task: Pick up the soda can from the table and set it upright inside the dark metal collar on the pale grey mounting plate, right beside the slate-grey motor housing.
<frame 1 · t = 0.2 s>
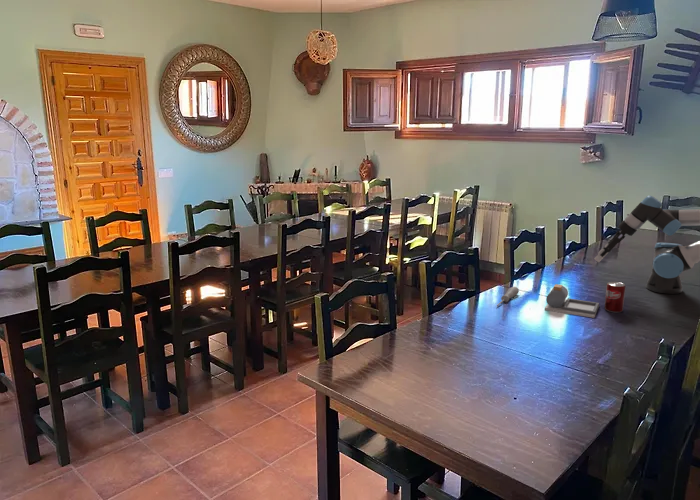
hand: (598, 257, 252), 16 cm above the table, tool tilted 35°, fingers open, 13 cm apart
screwdriver: (506, 301, 242), on the table
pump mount: (571, 308, 230), on the table
soda can: (613, 310, 227), on the table
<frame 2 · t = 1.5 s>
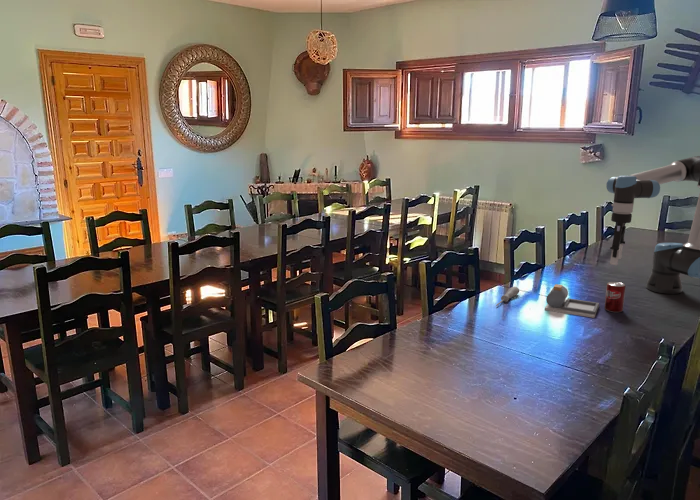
hand: (615, 261, 223), 22 cm above the table, tool pointing down, fingers open, 13 cm apart
nothing on the table moved.
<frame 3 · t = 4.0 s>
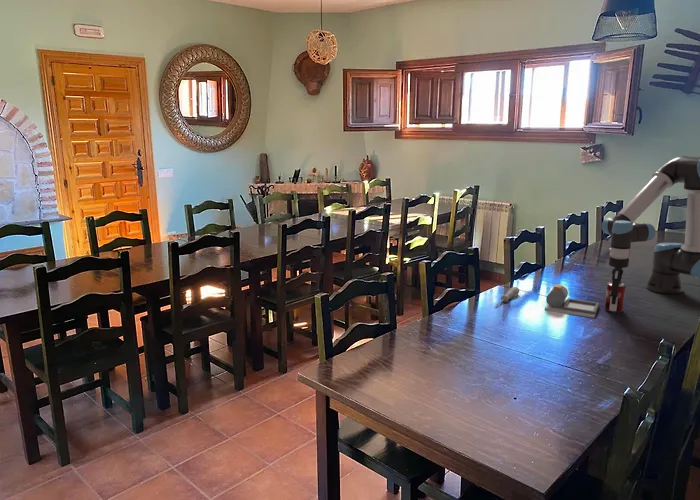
hand: (613, 307, 226), 1 cm above the table, tool pointing down, fingers closed on soda can, 7 cm apart
soda can: (613, 310, 226), on the table, touching gripper
everything else where it was.
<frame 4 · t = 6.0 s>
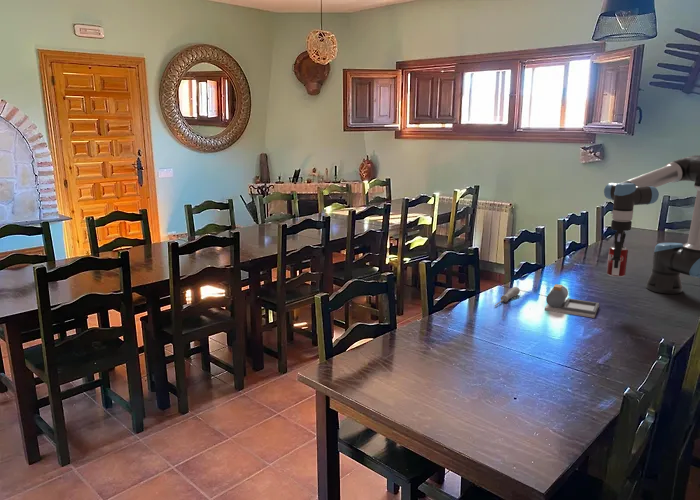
hand: (616, 272, 222), 17 cm above the table, tool pointing down, fingers closed on soda can, 7 cm apart
soda can: (615, 275, 223), point 16 cm above the table, touching gripper
everything else where it was.
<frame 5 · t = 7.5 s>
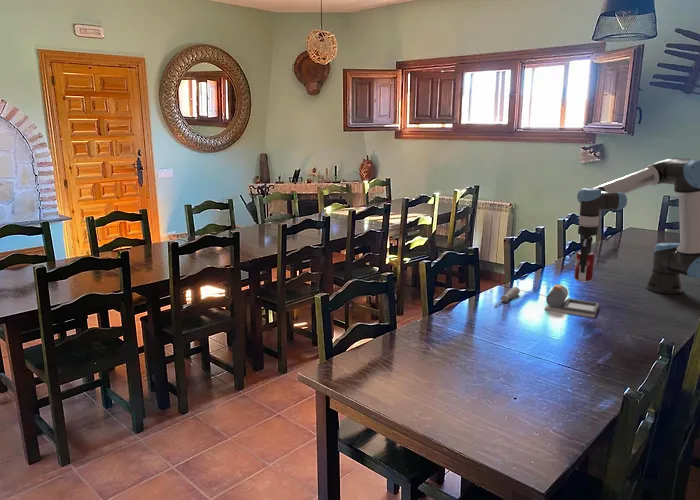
hand: (583, 277, 224), 15 cm above the table, tool pointing down, fingers closed on soda can, 7 cm apart
soda can: (583, 280, 225), point 14 cm above the table, touching gripper
everything else where it was.
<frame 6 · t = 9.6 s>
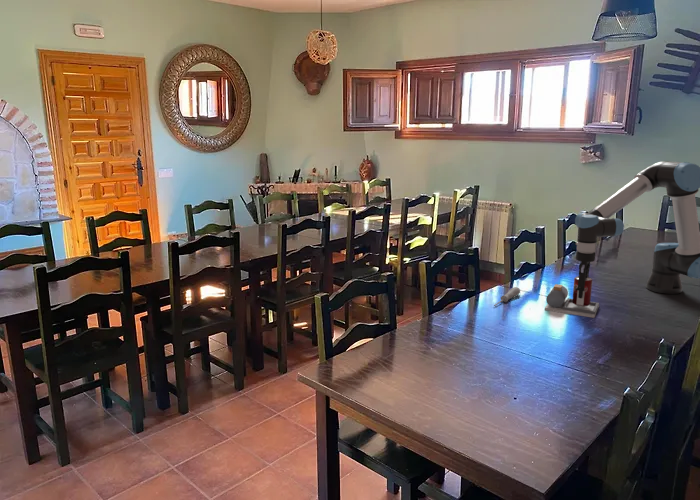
hand: (581, 301, 227), 4 cm above the table, tool pointing down, fingers closed on soda can, 7 cm apart
soda can: (581, 304, 227), point 2 cm above the table, touching gripper
everything else where it was.
when the fingers open (4 cm above the table, at t = 10.2 s): soda can drops 1 cm, resting on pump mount.
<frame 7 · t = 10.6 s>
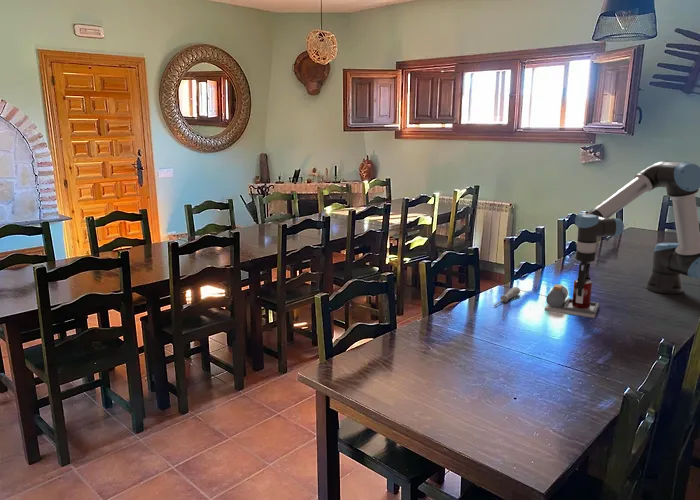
hand: (581, 298, 227), 5 cm above the table, tool pointing down, fingers open, 13 cm apart
soda can: (580, 307, 228), point 1 cm above the table, touching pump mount
everything else where it was.
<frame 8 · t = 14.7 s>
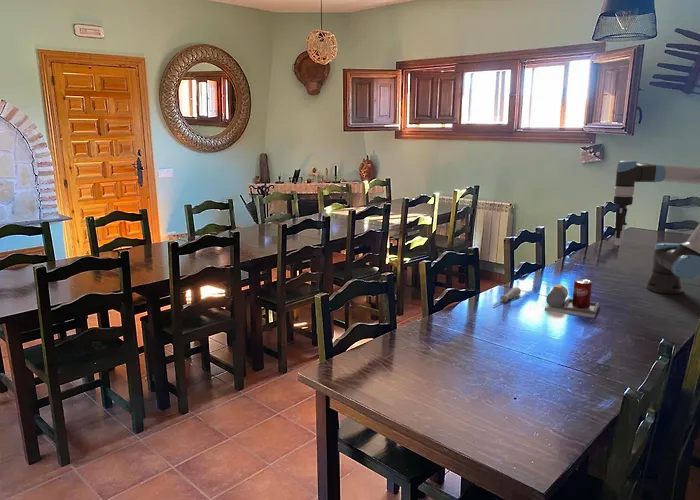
hand: (618, 242, 236), 27 cm above the table, tool pointing down, fingers open, 13 cm apart
nothing on the table moved.
at the end: soda can 0.2 cm from the target spot on the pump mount, point 0.8 cm above the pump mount's base; soda can tilted 0°; the gripper is holding nothing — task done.
